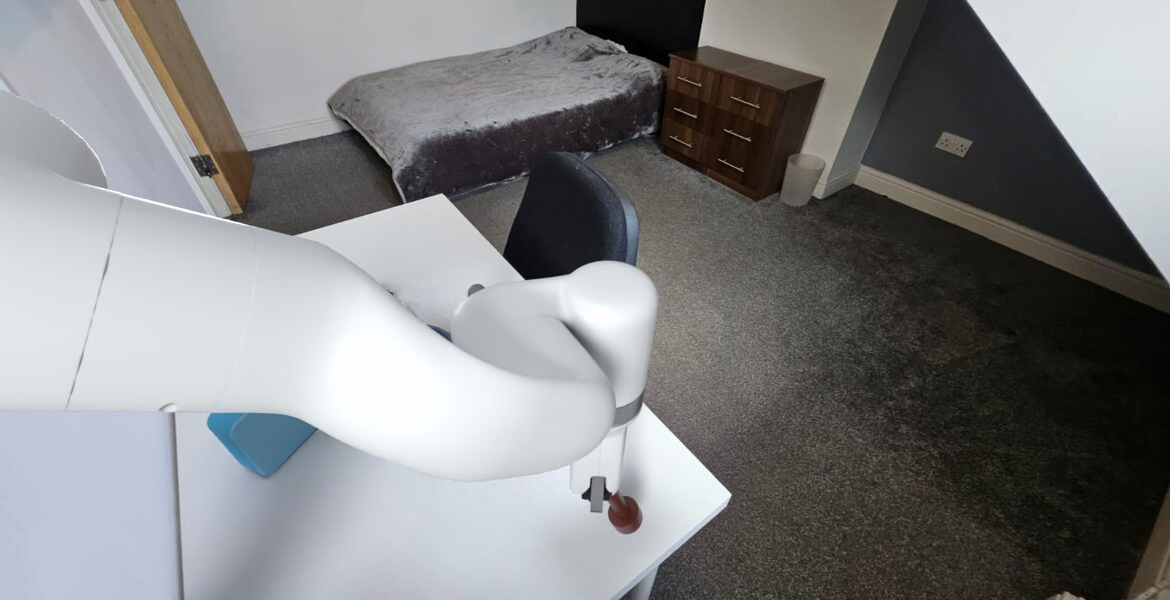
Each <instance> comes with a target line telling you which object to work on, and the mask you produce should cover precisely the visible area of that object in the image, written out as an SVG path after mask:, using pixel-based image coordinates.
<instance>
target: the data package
mask: <svg viewBox="0 0 1170 600" xmlns="http://www.w3.org/2000/svg"><path fill="white" fill-rule="evenodd" d="M206 425H207V428H208V429H209V430H210V431H211V433H212V434H213V435H214V436H215V437H216V438H217V440H218V441H219V442H220V444H222V445H223V446H224V447H225V449H227V451H228V452H229V453H230V455H232V456H233V458H234V459H235V460H236V461H237V462H238V463H239V465H241V466H243V467H245V468H247V469H249V470H252V471H254V472H255V473H258V474H260V475H262V476H270V475H272V474H274V473H275V472H276V471H277V470H278V469H280V467H281V466H282V465H283V464H285V462H286V461H287V460H288V459H289V458H290V457H291V456H292V455H293V454H294V453H295V452H296V451H297V450H298V449H299V448H300V447H301V445H302V444H303V443H305V442H306V440H308V438H309V437H311V435H313V433H314V432H315V431H316V430H317V429H318V428H316V427H314V426H312V425H311V424H309V423H307V422H305V421H303V420H301V419H298V418H296V417H292V416H288V415H283V414H274V413H209V415H208V417H207V420H206Z"/></svg>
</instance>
